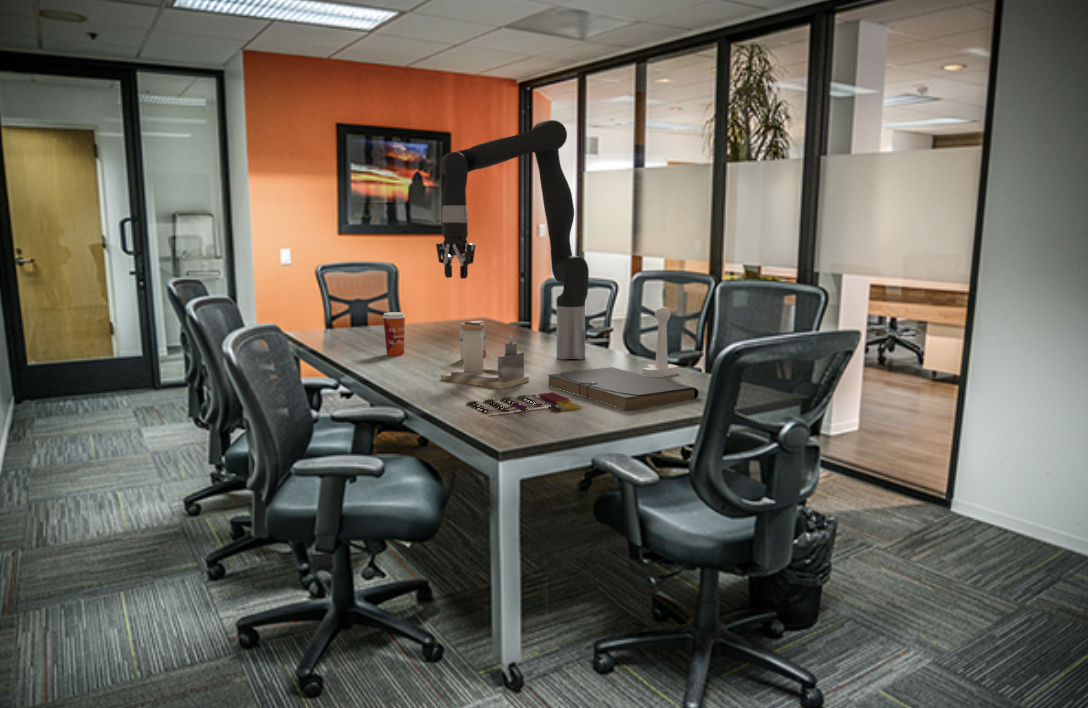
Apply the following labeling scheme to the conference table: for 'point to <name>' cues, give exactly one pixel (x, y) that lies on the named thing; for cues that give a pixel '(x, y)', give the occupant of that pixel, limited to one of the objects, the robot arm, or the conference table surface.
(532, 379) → the conference table surface
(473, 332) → the lidded white jar
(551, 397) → the colourful patterned flat panel
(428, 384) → the conference table surface
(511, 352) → the potentiometer
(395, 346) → the paper cup
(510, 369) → the maple mount
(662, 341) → the joystick
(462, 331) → the ink box
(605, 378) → the brown book
